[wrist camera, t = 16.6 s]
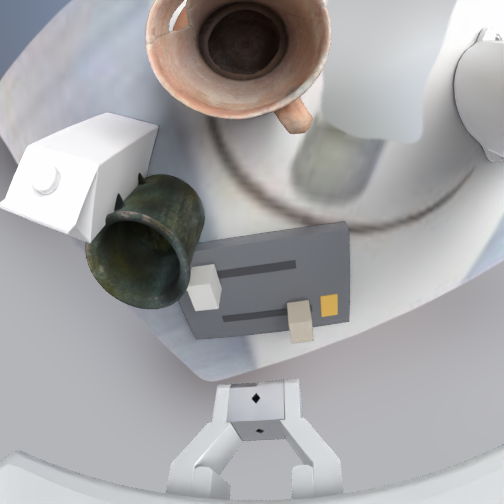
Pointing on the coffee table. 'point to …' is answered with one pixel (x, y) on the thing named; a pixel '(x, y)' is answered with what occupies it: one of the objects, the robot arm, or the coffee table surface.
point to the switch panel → (274, 280)
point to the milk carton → (81, 174)
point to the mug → (148, 243)
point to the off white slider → (204, 288)
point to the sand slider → (300, 321)
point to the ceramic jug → (240, 56)
